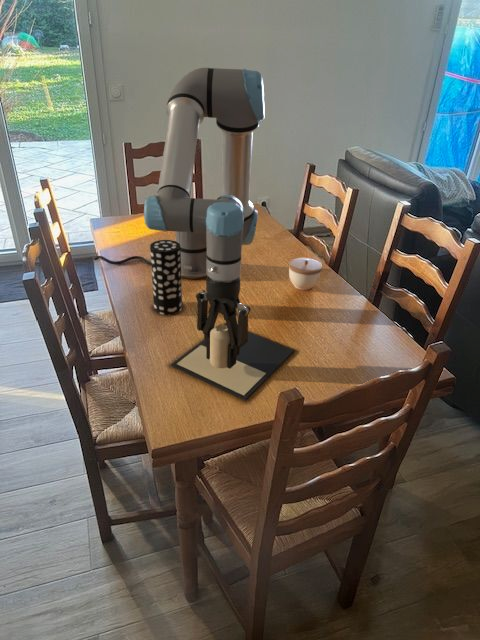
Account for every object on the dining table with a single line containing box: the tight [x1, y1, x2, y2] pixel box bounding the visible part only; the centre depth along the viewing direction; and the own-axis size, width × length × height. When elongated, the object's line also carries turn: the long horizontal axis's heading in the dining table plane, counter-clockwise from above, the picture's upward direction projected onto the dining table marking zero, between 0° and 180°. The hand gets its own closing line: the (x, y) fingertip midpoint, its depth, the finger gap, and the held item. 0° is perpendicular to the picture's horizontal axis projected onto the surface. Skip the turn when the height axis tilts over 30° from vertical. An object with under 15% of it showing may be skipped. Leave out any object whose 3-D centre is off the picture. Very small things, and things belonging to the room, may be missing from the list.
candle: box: [210, 323, 231, 368], centre depth 112 cm, size 6×6×10 cm
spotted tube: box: [149, 239, 183, 316], centre depth 134 cm, size 8×8×20 cm
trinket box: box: [288, 257, 323, 291], centre depth 153 cm, size 11×11×9 cm
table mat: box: [170, 322, 295, 402], centre depth 120 cm, size 22×24×1 cm
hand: (221, 360), depth 114 cm, fingers closed on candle, 5 cm apart
